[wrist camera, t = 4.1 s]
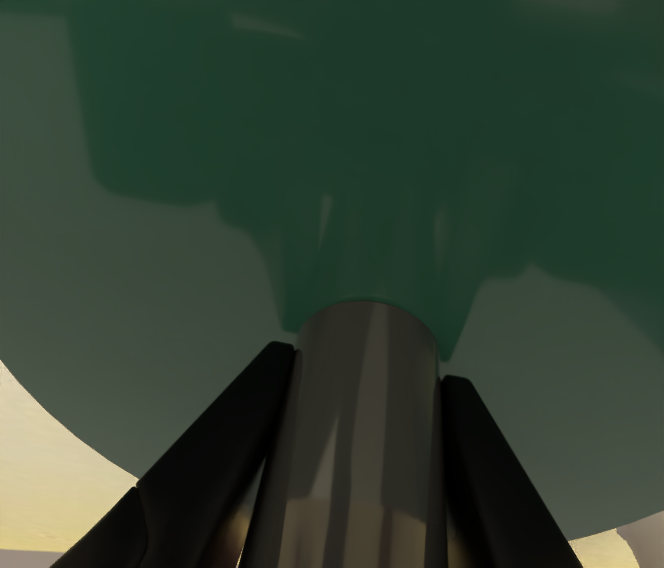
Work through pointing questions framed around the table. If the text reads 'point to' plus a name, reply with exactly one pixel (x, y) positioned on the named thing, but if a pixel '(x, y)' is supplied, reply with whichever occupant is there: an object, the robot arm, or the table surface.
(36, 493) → the table surface
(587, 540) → the table surface
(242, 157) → the pot lid
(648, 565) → the rook chess piece
